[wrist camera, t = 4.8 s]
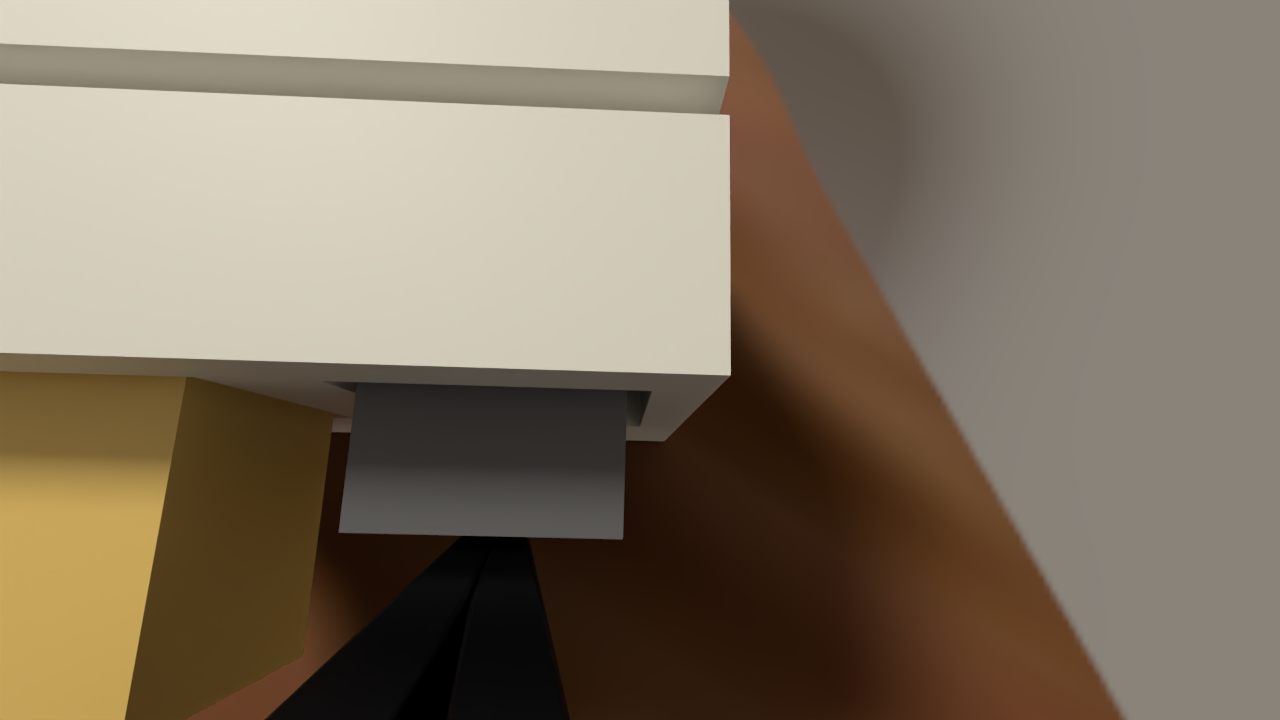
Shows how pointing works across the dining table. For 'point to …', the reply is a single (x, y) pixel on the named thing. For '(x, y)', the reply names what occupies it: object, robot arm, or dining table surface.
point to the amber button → (151, 542)
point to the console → (370, 195)
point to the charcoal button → (486, 461)
